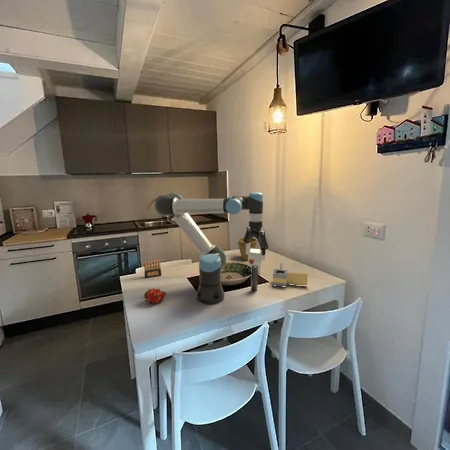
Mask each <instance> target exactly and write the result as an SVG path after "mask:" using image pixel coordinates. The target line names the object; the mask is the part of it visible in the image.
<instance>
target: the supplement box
mask: <svg viewBox="0 0 450 450" xmlns="http://www.w3.org/2000/svg"><path fill="white" fill-rule="evenodd" d="M260 249H261V248H260ZM260 249H259V248H255V249H250V254H248V261H247V267H248V266H250V267H252V265H257V266H258V275H261V273H262V271H263V261H260Z"/></svg>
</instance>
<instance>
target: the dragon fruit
mask: <svg viewBox="0 0 450 450" xmlns="http://www.w3.org/2000/svg"><path fill="white" fill-rule="evenodd" d="M165 297H167V293H166V291H163V290H160V288H155V287H153V288H149V289H148V290H146V291H145V293H144V295H143V298H144V302H146V303H147V302H149V303H150V304H153V305H156V304H157V303H158V304H160V303H162V302H163V300H164V299H165Z"/></svg>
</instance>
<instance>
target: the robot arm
mask: <svg viewBox="0 0 450 450" xmlns="http://www.w3.org/2000/svg"><path fill="white" fill-rule="evenodd" d="M263 206H264V195H263V193H262V192H249V195H247V196H244V195H228V197H227V198H187V199H186V198H185V199H184V198H183V197H182V196H181V195H180V194H178V193H174V192H171V193H170V192H169V193H168V194H163V195H160V196H159V197H157V198H156V199H155V201H154V210H155V211H156V213H157V214H158V215H159V216H162V217H168V218H169V219H170V220H171V221H174V222H175V223H176V224H177V225H178V227H179V228H180V229H181V230H182V232H183V233H184V234H185V236H186V237H187V238H188V239H189V241H190V242H191V243H192V245H193V246H194V248H195V249H196V250H197V251H198V252H199V262H198V271H199V276H198V277H199V286H198V289H197V292H196V300H197V301H198V302H199V303H201V304H205V305H215V304H218V303H221V302H223V301H224V299H225V292H224V289H223V286H222V271H223V270H224V267H226V264H227V255H226V253H225V251H224V250H222V249H220V248H218V246H217V245H216V244H212V243H211V241H210V240H209V239H208V238H207V236H206V235H205V234H204V232H203V231H202V229H201V228H200V227H199V226H198V225H197V223H196V222H195V220H194V219H193V218H192V217H191V215H190V214H230V215H237V214H238V213H240V212H241V211H245V210H246V211H248V226H247V227H246V231H245V234H244V237H243V238H244V239H243V241H245V243H246V255H247V254H250V241H251V239H252V238H255V239H257V242H258V243H259V247H260V261H262V262H263V261H266V259H265V258H266V250H269V244H268V240H267V237H266V231H265V230H262V228H263V211H264V210H263V209H264V207H263Z"/></svg>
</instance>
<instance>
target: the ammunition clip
mask: <svg viewBox="0 0 450 450" xmlns="http://www.w3.org/2000/svg"><path fill="white" fill-rule="evenodd" d="M143 263H144V266H143V267H144V268H143V269H144V279H145V278H146V279H152V278H156V277H162V271H161V270H162V269H161V261H160V258H158V260H157V258H156V259H154V258H153V259H150V260H147V261H146V260H144V262H143Z"/></svg>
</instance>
